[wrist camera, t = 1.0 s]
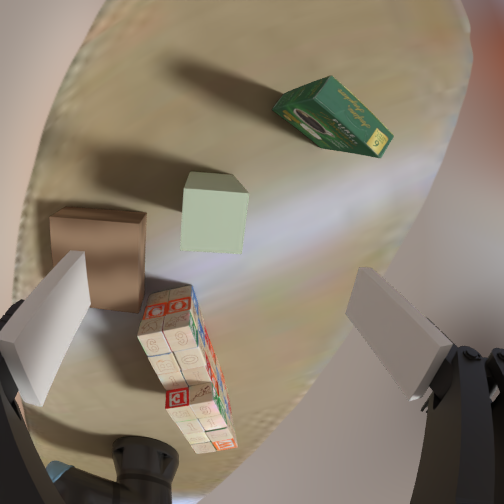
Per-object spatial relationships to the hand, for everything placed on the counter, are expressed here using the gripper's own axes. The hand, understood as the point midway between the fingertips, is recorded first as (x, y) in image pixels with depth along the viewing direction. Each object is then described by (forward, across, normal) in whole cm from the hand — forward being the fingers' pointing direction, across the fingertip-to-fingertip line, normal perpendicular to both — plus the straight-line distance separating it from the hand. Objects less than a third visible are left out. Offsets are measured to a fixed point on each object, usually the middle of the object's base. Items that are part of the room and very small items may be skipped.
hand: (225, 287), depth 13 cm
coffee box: (+23, -10, -10) cm, 27 cm away
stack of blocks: (+23, +1, +23) cm, 32 cm away
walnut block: (+23, +13, +8) cm, 28 cm away
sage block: (+23, 0, 0) cm, 23 cm away
